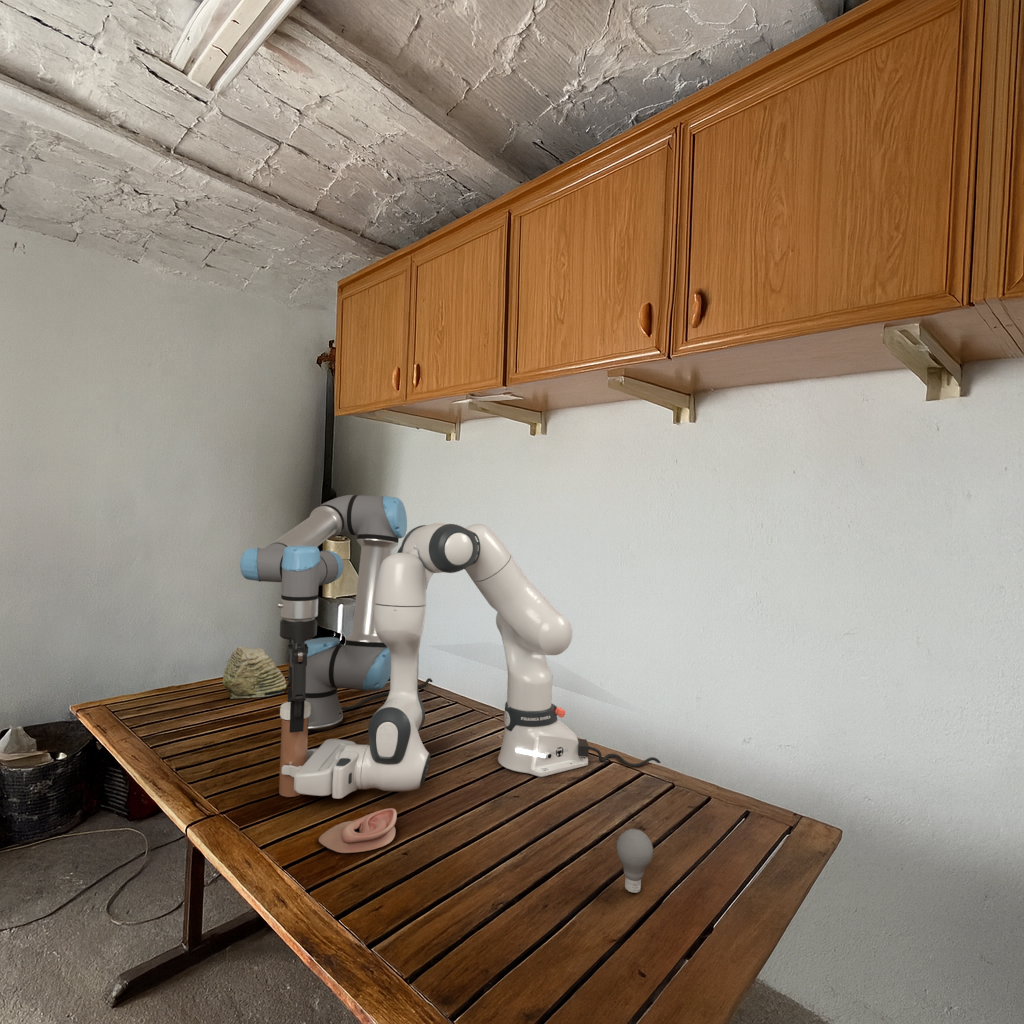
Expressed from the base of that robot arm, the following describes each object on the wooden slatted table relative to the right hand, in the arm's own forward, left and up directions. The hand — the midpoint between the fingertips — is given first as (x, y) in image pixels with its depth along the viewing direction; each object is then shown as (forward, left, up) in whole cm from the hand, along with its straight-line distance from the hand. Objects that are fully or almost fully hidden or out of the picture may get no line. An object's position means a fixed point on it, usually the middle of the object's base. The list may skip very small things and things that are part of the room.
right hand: (289, 762), depth 136 cm
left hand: (-1, 0, +8) cm, 8 cm away
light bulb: (-52, +54, -6) cm, 75 cm away
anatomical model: (-11, +23, -6) cm, 27 cm away
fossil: (+6, -70, -6) cm, 71 cm away
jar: (-1, 0, -6) cm, 6 cm away
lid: (-1, 0, +12) cm, 12 cm away
